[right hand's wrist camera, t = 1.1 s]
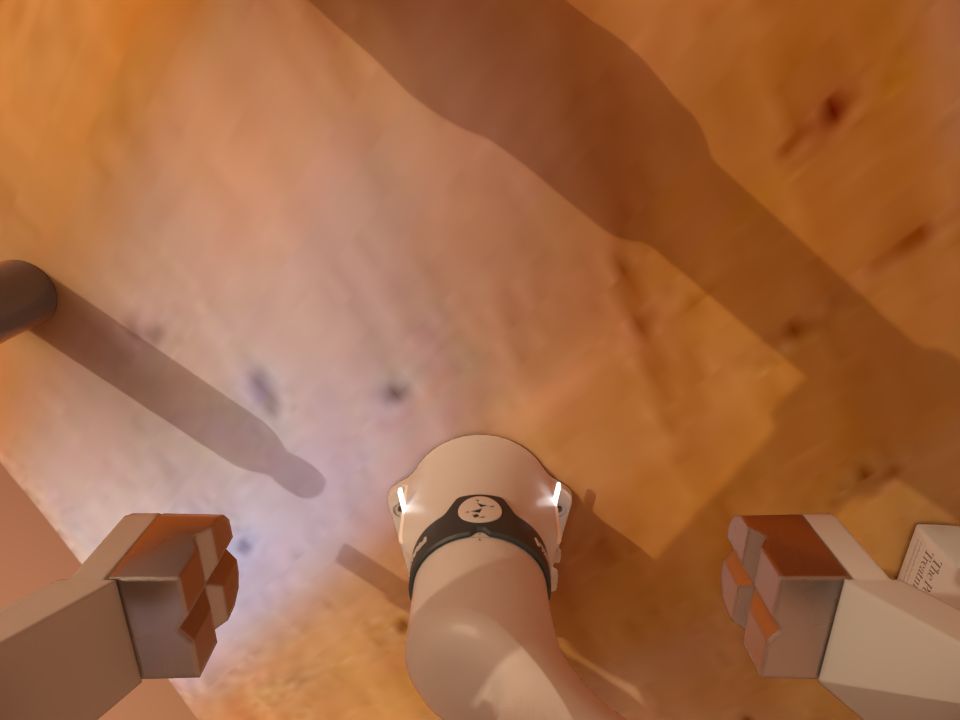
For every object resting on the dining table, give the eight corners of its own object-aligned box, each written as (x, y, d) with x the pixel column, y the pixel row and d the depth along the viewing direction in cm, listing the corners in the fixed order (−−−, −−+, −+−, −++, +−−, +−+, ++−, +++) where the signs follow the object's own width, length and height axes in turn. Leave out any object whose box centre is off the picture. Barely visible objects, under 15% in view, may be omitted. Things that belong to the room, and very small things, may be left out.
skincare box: (909, 521, 67) (1030, 639, 53) (961, 523, 68) (1095, 641, 53) (858, 673, 75) (950, 812, 60) (904, 674, 75) (1008, 813, 61)
